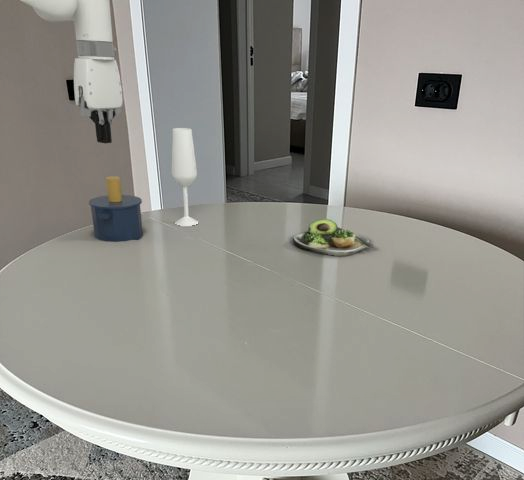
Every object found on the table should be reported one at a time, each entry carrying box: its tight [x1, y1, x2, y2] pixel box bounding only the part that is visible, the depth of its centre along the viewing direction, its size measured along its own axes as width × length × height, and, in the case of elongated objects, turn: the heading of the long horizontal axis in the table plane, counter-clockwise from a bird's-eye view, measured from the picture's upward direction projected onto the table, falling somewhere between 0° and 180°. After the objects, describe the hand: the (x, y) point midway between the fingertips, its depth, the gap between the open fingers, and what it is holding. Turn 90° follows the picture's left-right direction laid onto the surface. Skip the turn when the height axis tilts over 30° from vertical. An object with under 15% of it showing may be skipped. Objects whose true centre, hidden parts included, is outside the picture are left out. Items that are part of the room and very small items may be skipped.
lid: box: [88, 175, 143, 209], centre depth 129 cm, size 13×13×7 cm
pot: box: [90, 204, 144, 243], centre depth 132 cm, size 12×17×8 cm
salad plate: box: [292, 218, 376, 257], centre depth 130 cm, size 19×18×5 cm
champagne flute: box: [170, 127, 199, 227], centre depth 140 cm, size 7×7×24 cm
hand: (104, 142), depth 123 cm, fingers closed
